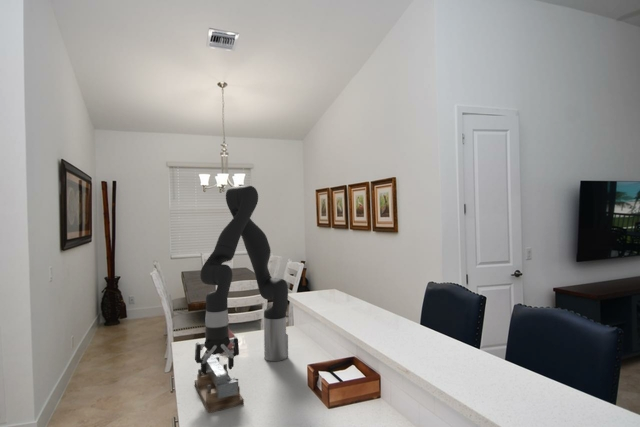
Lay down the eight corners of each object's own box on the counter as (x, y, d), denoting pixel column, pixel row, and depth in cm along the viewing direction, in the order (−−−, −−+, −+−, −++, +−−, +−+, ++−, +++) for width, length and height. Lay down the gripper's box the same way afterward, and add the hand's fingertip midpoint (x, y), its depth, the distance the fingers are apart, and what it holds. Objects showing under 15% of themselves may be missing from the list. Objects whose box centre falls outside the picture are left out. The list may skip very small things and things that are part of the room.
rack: (225, 377, 140) (225, 360, 140) (243, 403, 121) (243, 383, 121) (194, 384, 134) (194, 366, 134) (208, 412, 115) (208, 391, 115)
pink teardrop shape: (229, 352, 165) (229, 325, 165) (214, 350, 168) (214, 323, 168) (238, 346, 173) (238, 320, 173) (224, 344, 175) (223, 319, 175)
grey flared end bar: (217, 365, 140) (217, 354, 140) (237, 394, 118) (237, 381, 118) (200, 368, 137) (200, 357, 137) (218, 398, 115) (218, 385, 115)
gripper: (234, 317, 134) (235, 363, 134) (193, 323, 127) (193, 371, 127) (240, 322, 128) (241, 370, 128) (197, 329, 121) (198, 380, 121)
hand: (217, 371), depth 127 cm, fingers open, 8 cm apart
